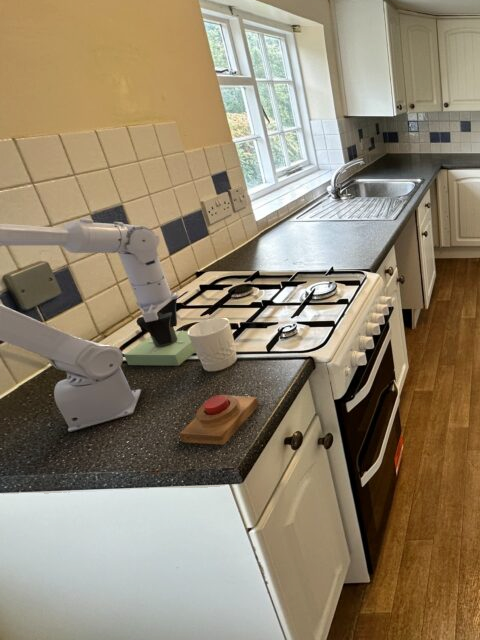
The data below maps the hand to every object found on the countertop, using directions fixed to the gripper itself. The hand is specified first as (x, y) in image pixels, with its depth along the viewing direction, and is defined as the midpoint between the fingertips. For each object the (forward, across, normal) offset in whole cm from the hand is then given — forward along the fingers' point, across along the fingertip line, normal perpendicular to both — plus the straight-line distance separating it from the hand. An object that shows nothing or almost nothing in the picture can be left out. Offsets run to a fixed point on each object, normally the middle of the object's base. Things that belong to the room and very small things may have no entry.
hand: (168, 334), depth 92 cm
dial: (+6, +9, +3) cm, 11 cm away
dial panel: (+9, +9, +3) cm, 13 cm away
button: (+6, -25, -9) cm, 27 cm away
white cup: (+9, -2, -8) cm, 12 cm away
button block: (+9, -25, -9) cm, 28 cm away
